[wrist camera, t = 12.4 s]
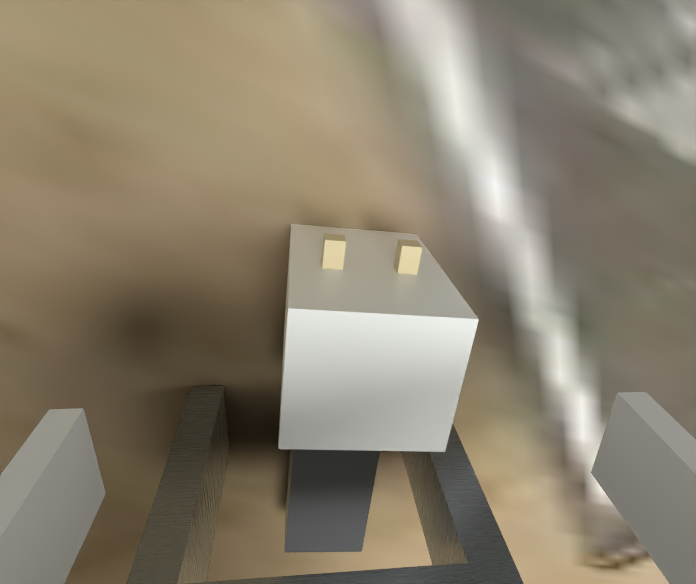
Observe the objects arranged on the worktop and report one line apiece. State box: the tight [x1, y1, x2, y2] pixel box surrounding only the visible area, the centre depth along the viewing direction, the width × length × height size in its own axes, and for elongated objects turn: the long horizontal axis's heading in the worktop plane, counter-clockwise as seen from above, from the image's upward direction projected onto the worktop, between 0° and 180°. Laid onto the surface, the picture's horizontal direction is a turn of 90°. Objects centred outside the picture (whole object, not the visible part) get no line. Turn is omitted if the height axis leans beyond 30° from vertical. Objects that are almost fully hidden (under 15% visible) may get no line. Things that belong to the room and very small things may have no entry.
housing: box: [127, 385, 523, 584], centre depth 19 cm, size 12×4×14 cm, turn 88°
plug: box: [278, 224, 479, 552], centre depth 20 cm, size 18×6×8 cm, turn 173°
